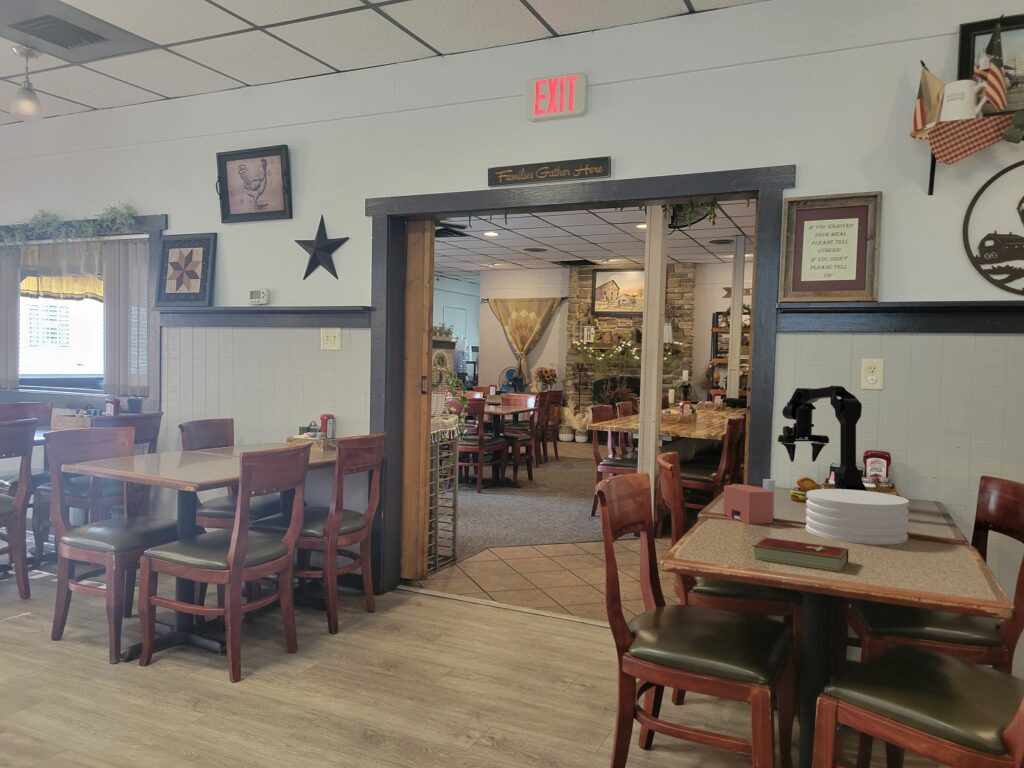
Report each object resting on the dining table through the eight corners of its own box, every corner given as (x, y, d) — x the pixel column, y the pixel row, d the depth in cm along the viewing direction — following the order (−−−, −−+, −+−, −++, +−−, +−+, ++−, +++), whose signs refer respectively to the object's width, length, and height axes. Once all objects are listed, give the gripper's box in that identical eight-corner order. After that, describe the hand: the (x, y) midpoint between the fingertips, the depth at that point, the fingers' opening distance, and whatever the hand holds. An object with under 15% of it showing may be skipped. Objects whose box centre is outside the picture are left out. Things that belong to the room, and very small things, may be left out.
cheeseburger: (797, 497, 289) (803, 473, 287) (822, 507, 281) (829, 483, 279) (783, 499, 283) (790, 474, 281) (808, 510, 275) (816, 485, 273)
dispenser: (747, 514, 251) (748, 484, 251) (774, 522, 238) (775, 491, 238) (723, 515, 248) (724, 485, 248) (748, 523, 235) (749, 492, 235)
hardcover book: (763, 551, 200) (764, 535, 200) (848, 563, 189) (848, 547, 189) (752, 560, 190) (752, 544, 190) (840, 573, 179) (841, 556, 179)
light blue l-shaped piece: (768, 516, 247) (769, 479, 247) (774, 518, 245) (775, 480, 244) (734, 517, 243) (735, 479, 243) (739, 519, 240) (740, 481, 240)
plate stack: (921, 547, 208) (922, 507, 208) (815, 541, 213) (816, 501, 213) (891, 527, 235) (892, 491, 235) (798, 522, 241) (799, 486, 241)
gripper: (812, 419, 293) (811, 459, 293) (770, 419, 289) (769, 459, 289) (830, 421, 282) (829, 462, 282) (786, 421, 278) (785, 462, 278)
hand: (802, 461), depth 283 cm, fingers open, 9 cm apart
